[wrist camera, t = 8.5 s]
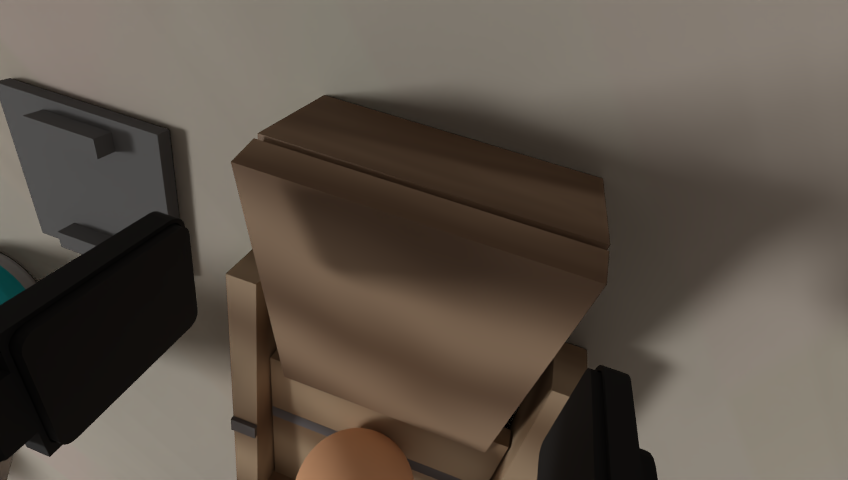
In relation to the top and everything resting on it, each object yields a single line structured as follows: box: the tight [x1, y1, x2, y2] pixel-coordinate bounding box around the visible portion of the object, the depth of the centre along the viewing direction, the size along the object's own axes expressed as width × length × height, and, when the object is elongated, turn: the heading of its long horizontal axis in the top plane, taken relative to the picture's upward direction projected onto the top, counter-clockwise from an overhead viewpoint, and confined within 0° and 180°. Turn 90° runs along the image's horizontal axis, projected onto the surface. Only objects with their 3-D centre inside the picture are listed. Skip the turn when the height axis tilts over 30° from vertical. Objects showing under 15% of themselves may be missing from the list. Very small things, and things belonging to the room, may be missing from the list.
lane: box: [226, 249, 587, 480], centre depth 21 cm, size 17×13×5 cm
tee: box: [0, 78, 180, 254], centre depth 19 cm, size 7×7×1 cm
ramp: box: [231, 95, 610, 453], centre depth 16 cm, size 12×9×5 cm
